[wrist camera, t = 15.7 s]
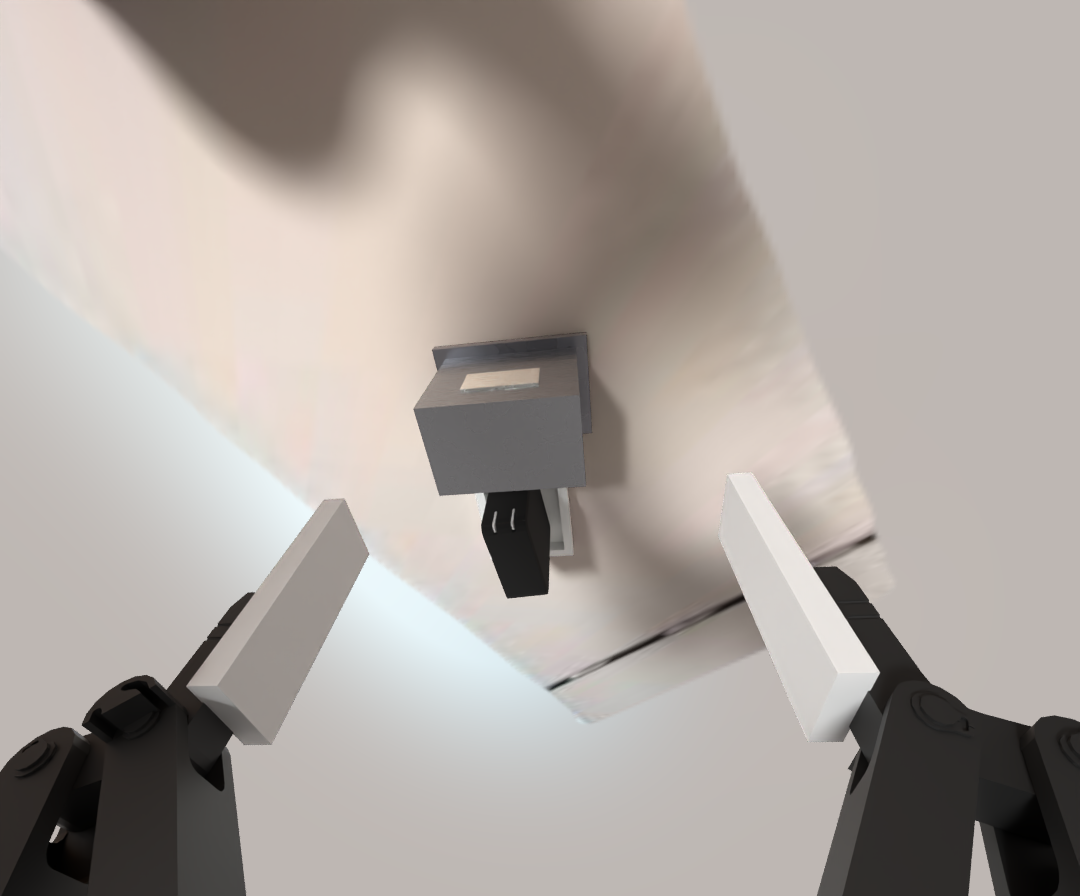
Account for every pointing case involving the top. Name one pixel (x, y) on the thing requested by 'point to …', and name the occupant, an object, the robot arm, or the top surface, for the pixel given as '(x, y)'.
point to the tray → (550, 519)
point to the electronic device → (518, 541)
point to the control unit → (507, 415)
